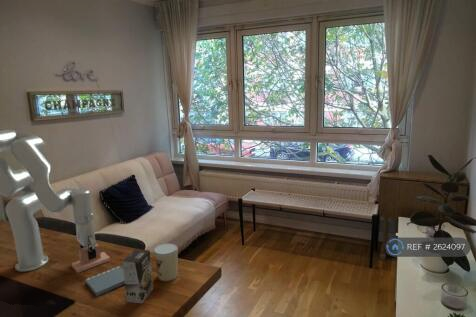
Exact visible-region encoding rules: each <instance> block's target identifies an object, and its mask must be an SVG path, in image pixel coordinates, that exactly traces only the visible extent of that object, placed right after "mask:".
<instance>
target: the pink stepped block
mask: <svg viewBox="0 0 476 317" xmlns="http://www.w3.org/2000/svg"><path fill="white" fill-rule="evenodd" d="M90 247H91V245H90V246H89V248H90ZM95 248H96V256H97V257H96V258H94V259H91V260H89V259H88V248H87V247H84V248H79V249H77V250H78V257H79V260H77V261H74V262H71V268H73V270H74V271H75V272H76V273H77V274H78V273H82V272H84V271H87V270H89V269H92V268H94V267H97V266H99V265H102V264H105V263H107V262H108V263H109V262H111V257H110V256H109V255H108V254H107V252H105V251H101V249H100V244H98V243H96V242H95Z"/></svg>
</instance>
